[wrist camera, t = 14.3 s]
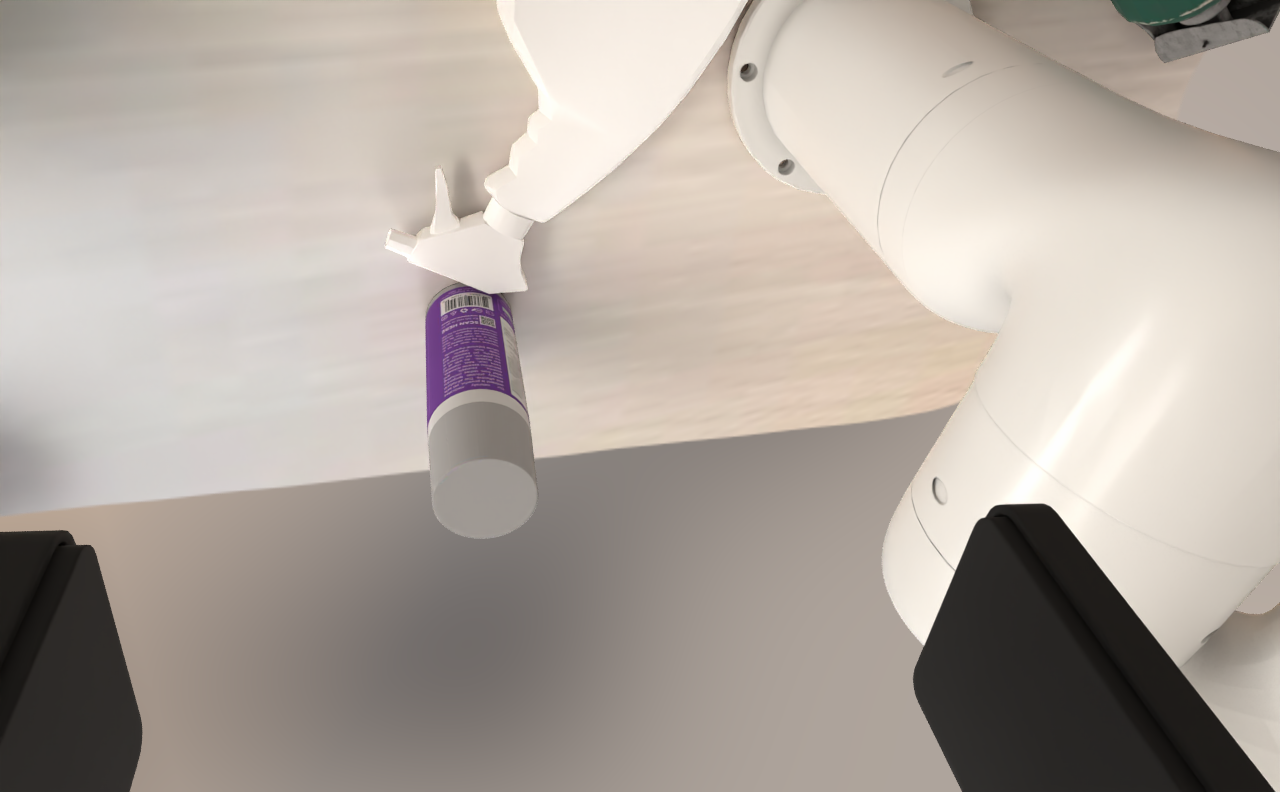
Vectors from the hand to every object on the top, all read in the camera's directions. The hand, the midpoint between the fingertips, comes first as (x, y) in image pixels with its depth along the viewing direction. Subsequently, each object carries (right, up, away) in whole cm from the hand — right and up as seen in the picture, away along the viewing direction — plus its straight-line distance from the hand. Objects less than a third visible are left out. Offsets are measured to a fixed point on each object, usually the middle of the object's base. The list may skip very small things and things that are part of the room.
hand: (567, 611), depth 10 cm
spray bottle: (-3, +18, +35) cm, 40 cm away
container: (-9, +7, +42) cm, 43 cm away
